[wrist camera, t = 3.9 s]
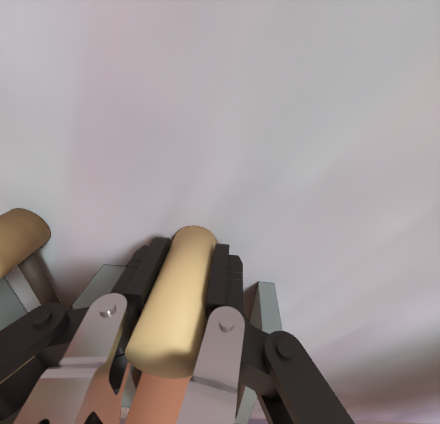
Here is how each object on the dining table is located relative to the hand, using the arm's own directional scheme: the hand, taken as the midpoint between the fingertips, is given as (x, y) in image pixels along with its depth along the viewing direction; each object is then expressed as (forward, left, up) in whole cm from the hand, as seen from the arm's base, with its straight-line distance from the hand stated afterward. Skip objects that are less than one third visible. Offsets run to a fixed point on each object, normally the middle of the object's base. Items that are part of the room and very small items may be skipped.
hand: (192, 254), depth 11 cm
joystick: (0, +7, -1) cm, 7 cm away
